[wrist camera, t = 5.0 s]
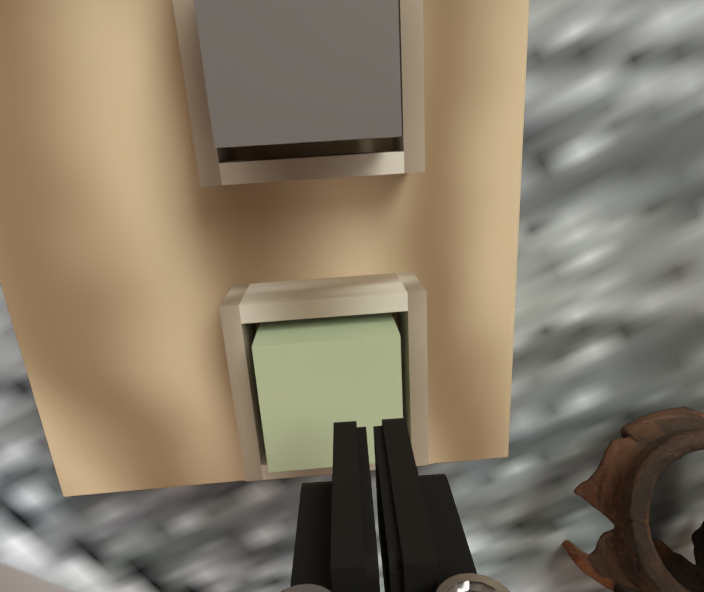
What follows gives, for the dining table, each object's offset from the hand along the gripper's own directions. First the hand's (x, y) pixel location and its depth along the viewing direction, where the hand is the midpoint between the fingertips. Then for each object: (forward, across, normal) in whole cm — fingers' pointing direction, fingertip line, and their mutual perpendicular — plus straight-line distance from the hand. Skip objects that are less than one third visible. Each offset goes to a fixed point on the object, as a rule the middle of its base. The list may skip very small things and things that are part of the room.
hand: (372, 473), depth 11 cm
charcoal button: (+6, +1, -10) cm, 11 cm away
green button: (+7, +1, 0) cm, 7 cm away
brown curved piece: (+11, -14, +11) cm, 21 cm away
